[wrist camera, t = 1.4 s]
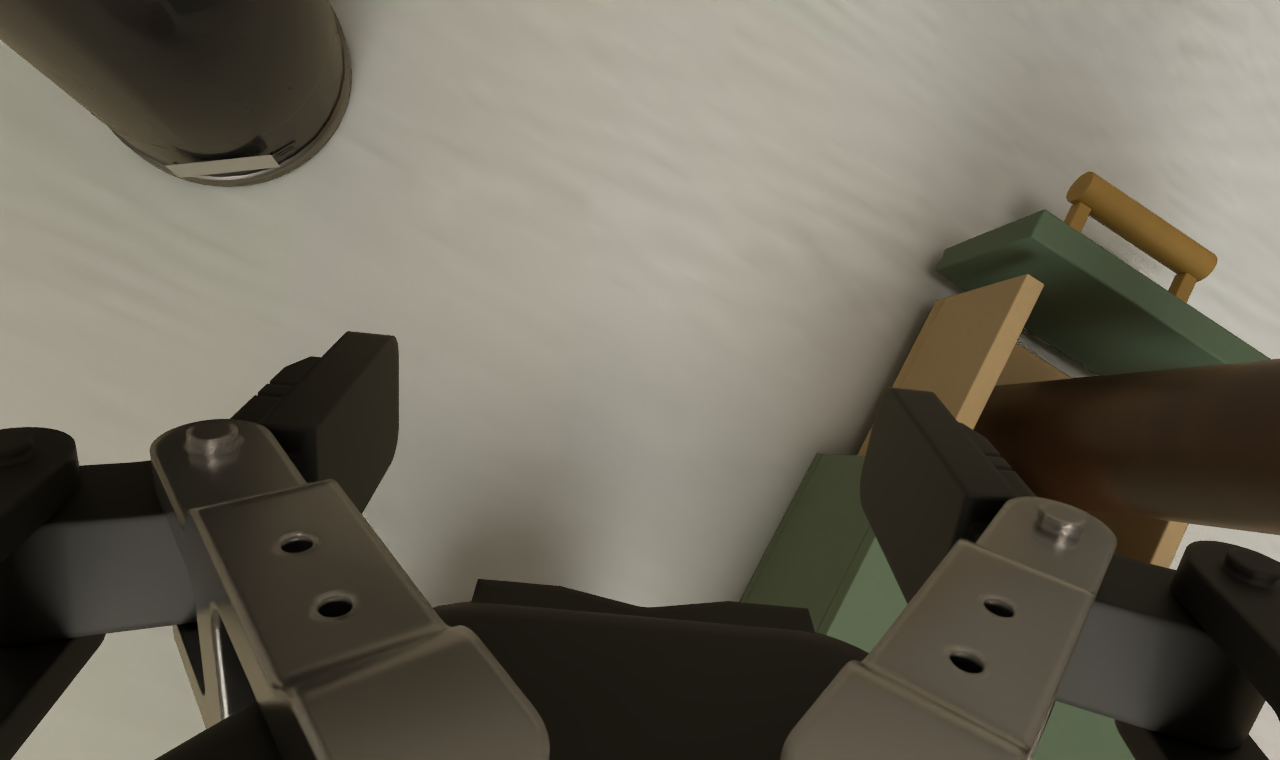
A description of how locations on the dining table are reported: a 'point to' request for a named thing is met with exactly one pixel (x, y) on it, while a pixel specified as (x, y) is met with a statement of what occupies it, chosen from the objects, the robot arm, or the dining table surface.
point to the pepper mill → (1149, 442)
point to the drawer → (1069, 319)
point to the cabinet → (875, 591)
